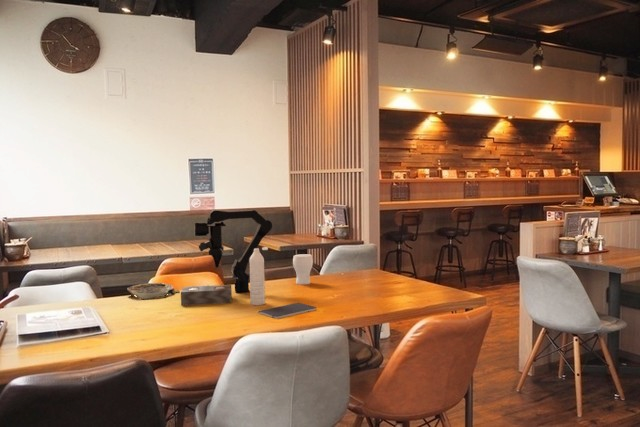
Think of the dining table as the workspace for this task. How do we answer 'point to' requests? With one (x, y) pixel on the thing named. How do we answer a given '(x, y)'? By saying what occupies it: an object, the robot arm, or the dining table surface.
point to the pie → (151, 290)
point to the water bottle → (257, 278)
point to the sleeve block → (206, 295)
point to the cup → (302, 268)
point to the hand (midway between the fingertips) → (216, 267)
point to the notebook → (287, 310)
